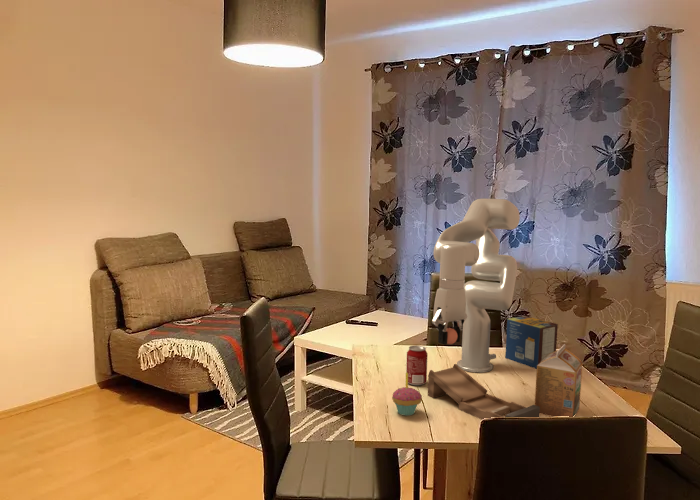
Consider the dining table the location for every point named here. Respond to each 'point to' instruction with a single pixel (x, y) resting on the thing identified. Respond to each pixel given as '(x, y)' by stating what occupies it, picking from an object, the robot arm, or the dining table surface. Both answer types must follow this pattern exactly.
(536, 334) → the protein box
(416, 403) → the cupcake
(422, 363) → the soda can
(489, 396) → the lane
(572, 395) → the milk carton
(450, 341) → the ball
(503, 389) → the dining table surface
